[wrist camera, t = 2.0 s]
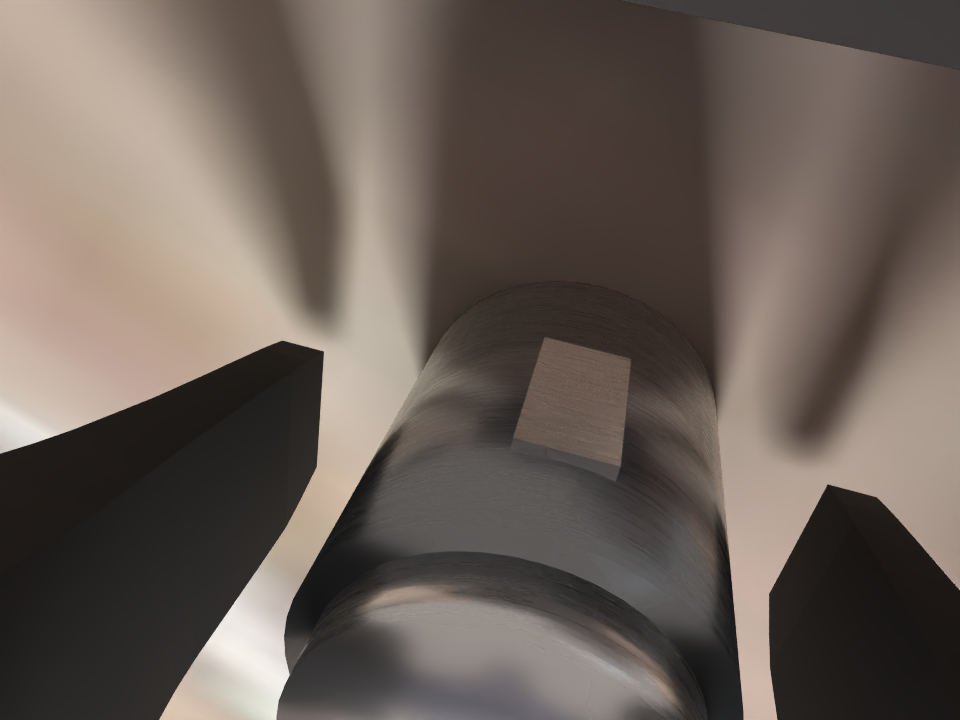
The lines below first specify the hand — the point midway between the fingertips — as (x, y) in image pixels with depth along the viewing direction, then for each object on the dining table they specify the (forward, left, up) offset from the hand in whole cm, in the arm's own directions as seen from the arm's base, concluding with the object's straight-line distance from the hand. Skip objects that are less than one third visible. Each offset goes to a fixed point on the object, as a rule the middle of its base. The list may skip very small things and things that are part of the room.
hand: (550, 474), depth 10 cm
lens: (0, 0, -2) cm, 2 cm away
